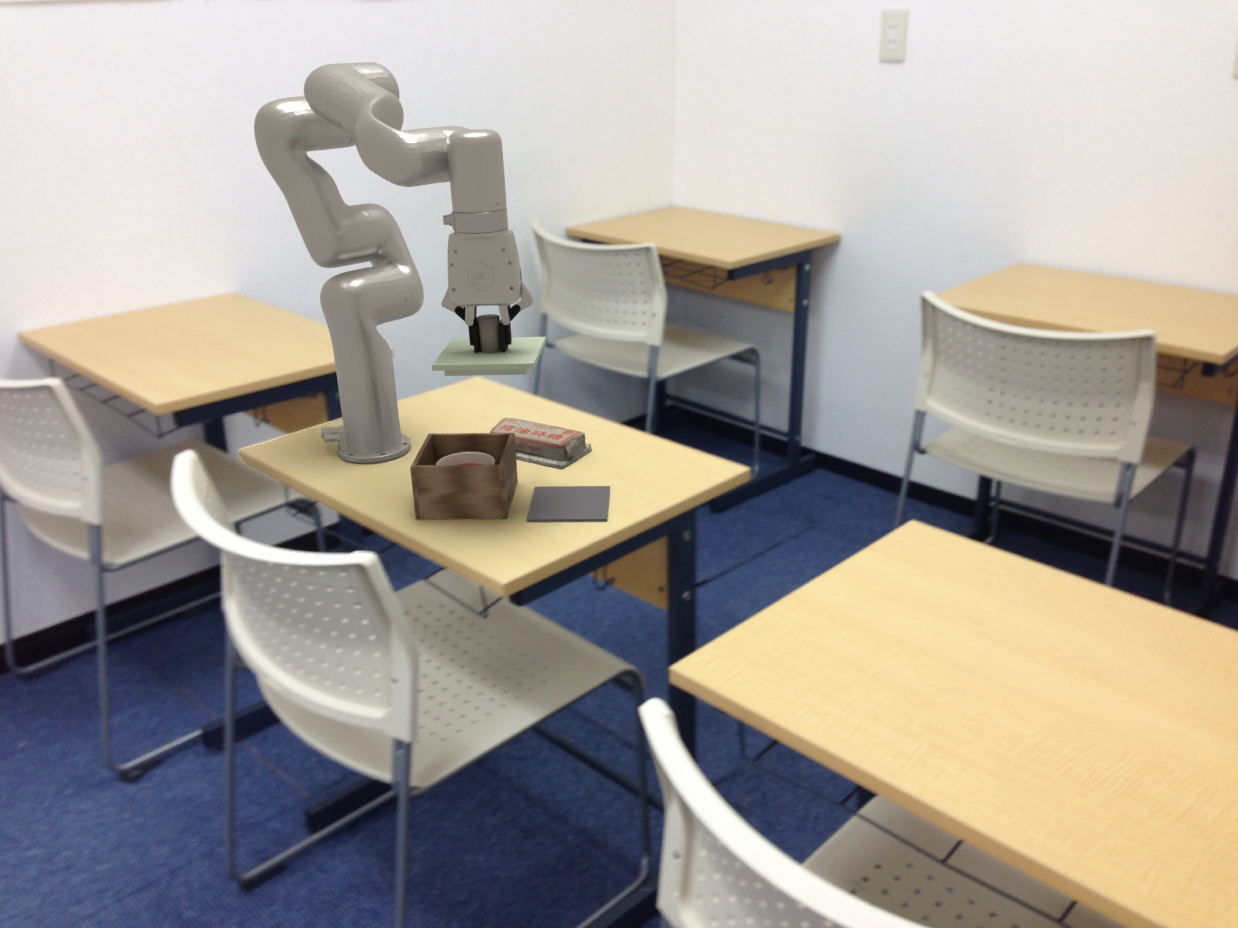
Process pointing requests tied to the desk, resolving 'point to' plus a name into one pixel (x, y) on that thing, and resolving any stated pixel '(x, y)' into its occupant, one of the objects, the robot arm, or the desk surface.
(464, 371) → the lid
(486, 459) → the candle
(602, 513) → the mat
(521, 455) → the packaged product
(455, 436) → the box
